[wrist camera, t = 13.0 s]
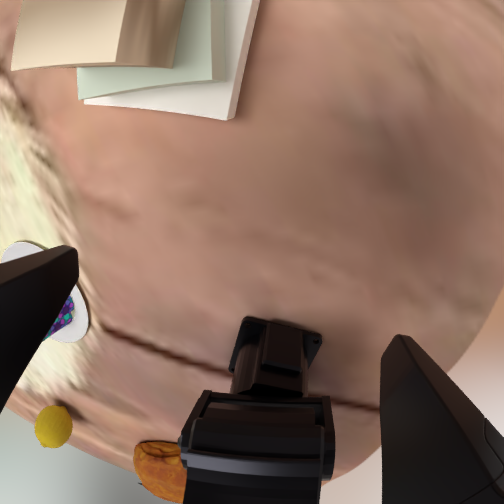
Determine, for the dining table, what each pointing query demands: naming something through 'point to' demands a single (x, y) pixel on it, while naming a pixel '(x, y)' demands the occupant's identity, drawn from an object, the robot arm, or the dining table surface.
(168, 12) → the birch cube
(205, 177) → the dining table surface
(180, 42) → the sage green block
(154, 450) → the croissant
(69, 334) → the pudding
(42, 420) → the lemon
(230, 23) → the base block
